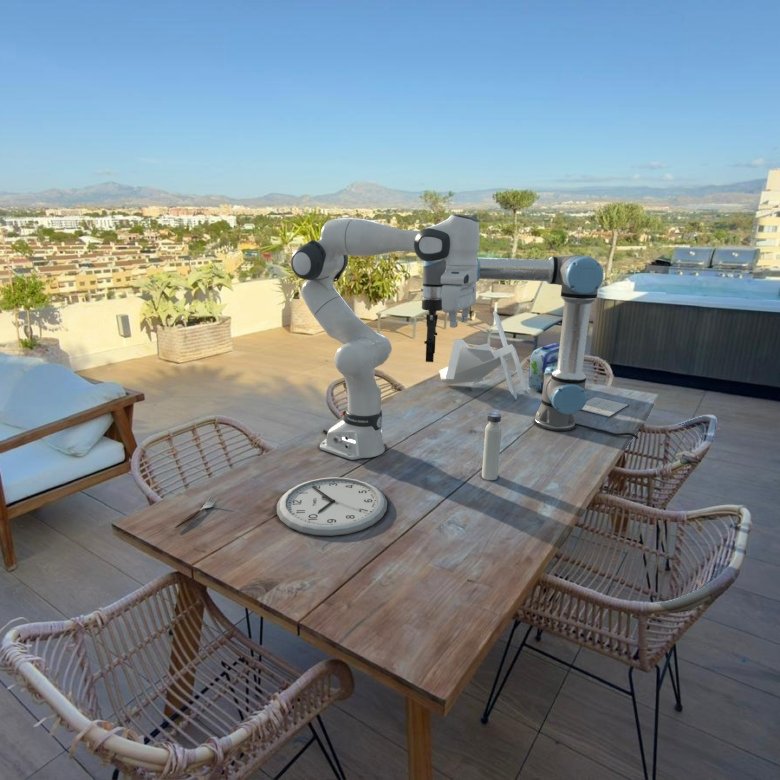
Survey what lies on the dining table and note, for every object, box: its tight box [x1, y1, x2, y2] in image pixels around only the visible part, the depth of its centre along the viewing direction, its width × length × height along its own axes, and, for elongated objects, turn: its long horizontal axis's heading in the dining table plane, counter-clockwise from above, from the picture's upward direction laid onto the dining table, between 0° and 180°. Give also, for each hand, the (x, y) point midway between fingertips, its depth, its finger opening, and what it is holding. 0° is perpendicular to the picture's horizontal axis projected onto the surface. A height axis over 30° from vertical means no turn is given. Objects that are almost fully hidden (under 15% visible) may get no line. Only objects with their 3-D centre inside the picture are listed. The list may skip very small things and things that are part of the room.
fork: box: [174, 492, 220, 529], centre depth 137 cm, size 3×16×2 cm, turn 160°
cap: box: [487, 412, 502, 423], centre depth 155 cm, size 4×4×2 cm
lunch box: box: [528, 343, 560, 392], centre depth 249 cm, size 26×11×21 cm, turn 134°
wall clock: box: [276, 476, 388, 537], centre depth 142 cm, size 30×2×30 cm
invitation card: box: [580, 396, 629, 418], centre depth 226 cm, size 21×1×15 cm
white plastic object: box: [438, 310, 531, 400], centre depth 245 cm, size 37×45×31 cm
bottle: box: [481, 421, 503, 481], centre depth 158 cm, size 5×5×20 cm
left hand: (458, 324), depth 150 cm, fingers open, 8 cm apart
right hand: (430, 357), depth 190 cm, fingers open, 13 cm apart
